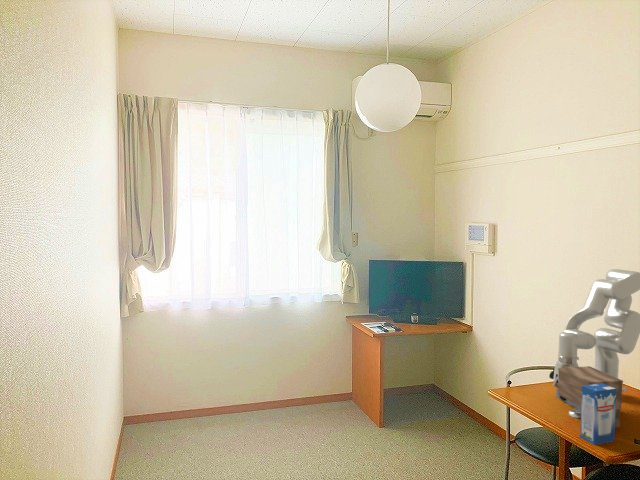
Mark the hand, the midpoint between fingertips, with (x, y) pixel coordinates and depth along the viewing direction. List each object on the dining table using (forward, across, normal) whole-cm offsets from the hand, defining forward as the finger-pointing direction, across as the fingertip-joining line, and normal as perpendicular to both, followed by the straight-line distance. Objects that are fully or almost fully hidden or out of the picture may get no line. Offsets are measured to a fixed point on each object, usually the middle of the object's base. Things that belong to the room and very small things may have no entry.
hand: (566, 399), depth 219 cm
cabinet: (+1, +4, +20) cm, 20 cm away
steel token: (+1, +6, +16) cm, 17 cm away
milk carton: (+1, +13, +37) cm, 39 cm away
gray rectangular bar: (+1, 0, +5) cm, 5 cm away
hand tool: (+1, -18, -23) cm, 29 cm away
